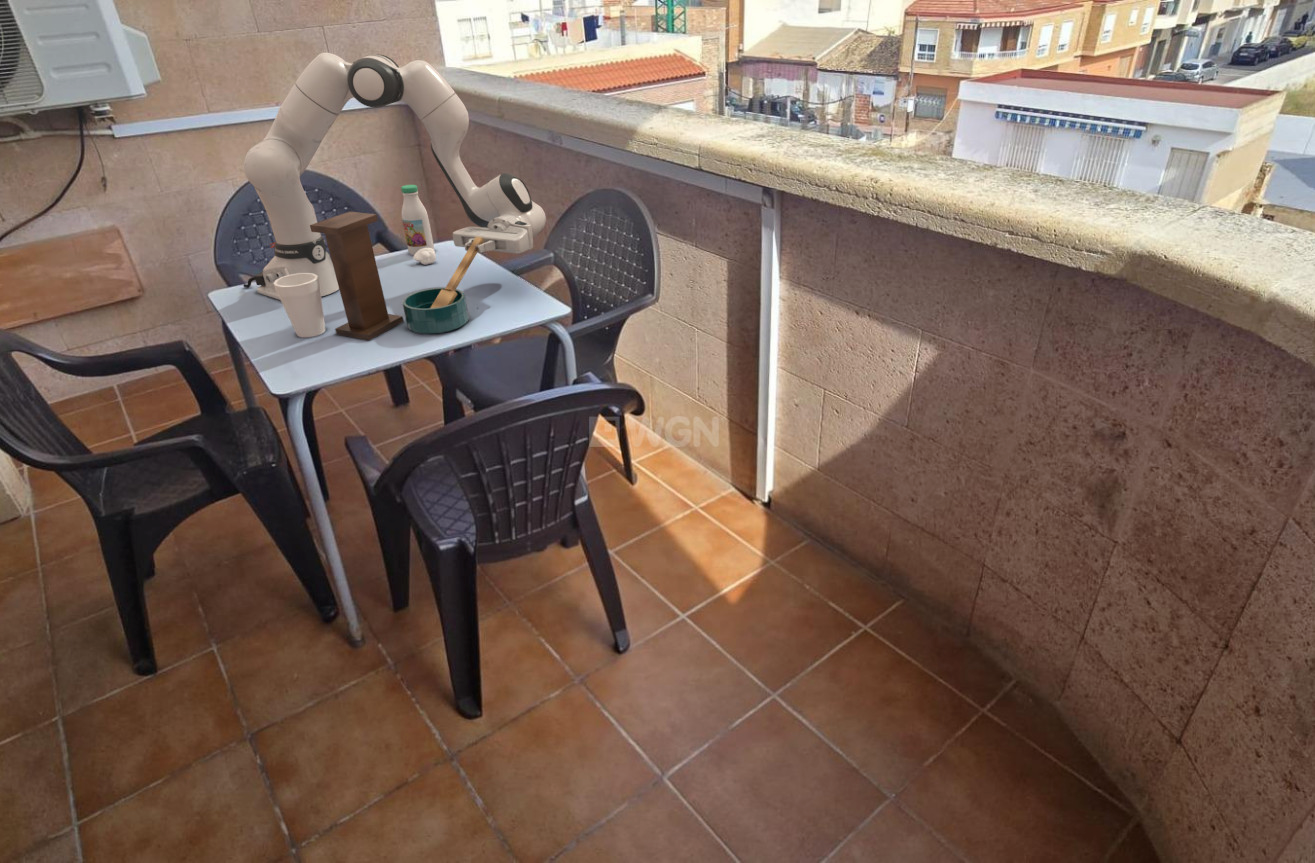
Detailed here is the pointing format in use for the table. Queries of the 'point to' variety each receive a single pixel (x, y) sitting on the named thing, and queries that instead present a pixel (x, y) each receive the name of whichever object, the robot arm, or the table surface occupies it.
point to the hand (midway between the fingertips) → (472, 248)
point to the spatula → (457, 277)
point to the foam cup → (302, 302)
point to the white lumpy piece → (425, 256)
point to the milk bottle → (415, 221)
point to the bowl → (434, 312)
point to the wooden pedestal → (357, 275)
